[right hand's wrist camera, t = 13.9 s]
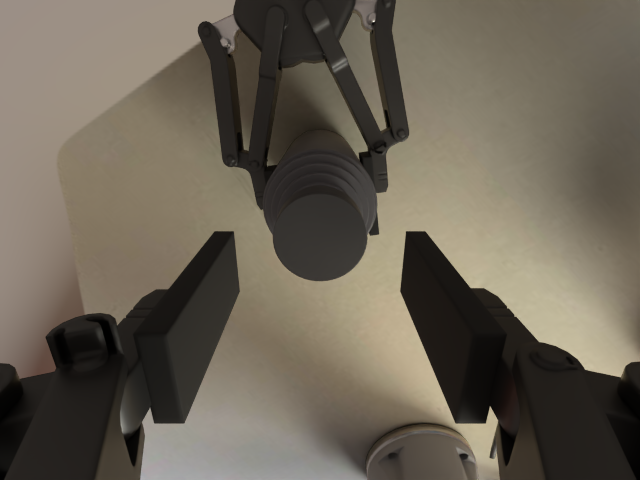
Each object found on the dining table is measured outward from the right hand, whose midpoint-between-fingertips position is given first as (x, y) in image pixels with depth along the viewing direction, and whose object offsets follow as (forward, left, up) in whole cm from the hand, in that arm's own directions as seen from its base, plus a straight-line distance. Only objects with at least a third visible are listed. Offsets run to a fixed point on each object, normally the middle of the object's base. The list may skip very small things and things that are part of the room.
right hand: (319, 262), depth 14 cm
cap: (0, 0, -3) cm, 3 cm away
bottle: (0, 0, -22) cm, 22 cm away
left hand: (-1, +5, -16) cm, 17 cm away
